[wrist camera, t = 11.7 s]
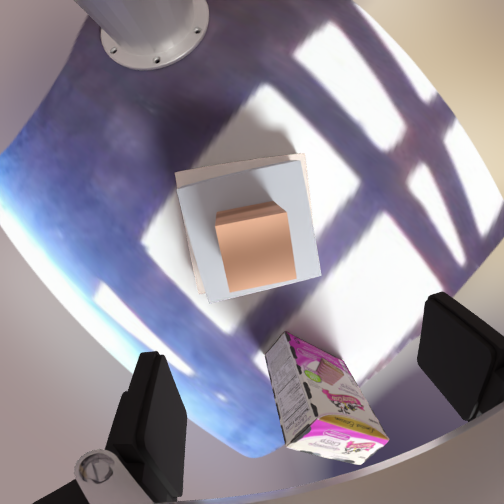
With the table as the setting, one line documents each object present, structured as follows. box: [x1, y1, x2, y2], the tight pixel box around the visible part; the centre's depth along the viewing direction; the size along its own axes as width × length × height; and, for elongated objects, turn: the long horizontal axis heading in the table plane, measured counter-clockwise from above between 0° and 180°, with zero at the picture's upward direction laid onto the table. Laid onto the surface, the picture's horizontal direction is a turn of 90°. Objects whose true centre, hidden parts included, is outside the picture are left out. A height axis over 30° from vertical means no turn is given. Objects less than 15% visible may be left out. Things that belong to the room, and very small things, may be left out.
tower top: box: [176, 160, 321, 304], centre depth 30 cm, size 11×11×4 cm
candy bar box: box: [265, 331, 389, 465], centre depth 33 cm, size 11×5×16 cm, turn 56°
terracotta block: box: [215, 201, 297, 292], centre depth 25 cm, size 5×5×6 cm
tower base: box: [175, 153, 313, 294], centre depth 34 cm, size 13×13×4 cm
